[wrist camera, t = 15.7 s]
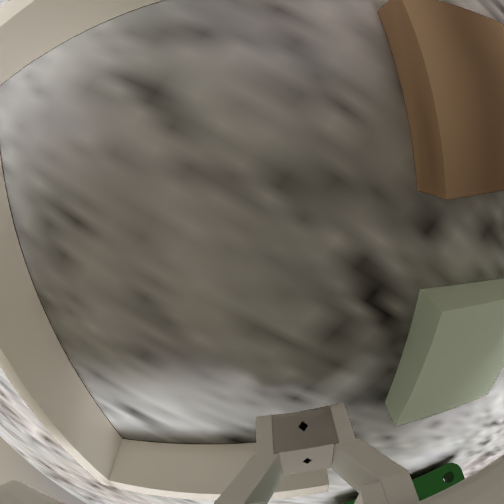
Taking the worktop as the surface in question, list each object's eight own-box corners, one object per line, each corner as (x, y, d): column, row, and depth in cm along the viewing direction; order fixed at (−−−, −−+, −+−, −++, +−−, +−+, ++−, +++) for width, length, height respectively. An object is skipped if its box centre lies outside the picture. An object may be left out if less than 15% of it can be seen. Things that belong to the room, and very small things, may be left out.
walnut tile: (488, 39, 6) (518, 31, 4) (513, 175, 8) (546, 183, 6) (373, 16, 6) (398, -9, 4) (410, 188, 8) (446, 199, 6)
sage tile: (508, 273, 9) (534, 291, 7) (471, 371, 11) (487, 394, 9) (414, 284, 9) (442, 311, 7) (381, 396, 11) (395, 426, 9)
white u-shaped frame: (259, -39, 5) (261, -96, 2) (319, 443, 12) (328, 491, 9) (-15, 79, 6) (-64, 76, 3) (116, 445, 12) (102, 484, 10)
